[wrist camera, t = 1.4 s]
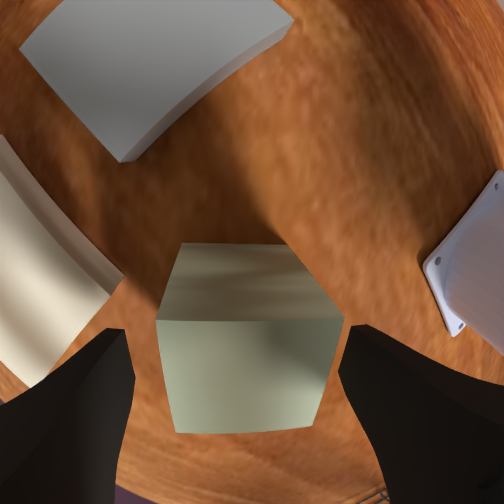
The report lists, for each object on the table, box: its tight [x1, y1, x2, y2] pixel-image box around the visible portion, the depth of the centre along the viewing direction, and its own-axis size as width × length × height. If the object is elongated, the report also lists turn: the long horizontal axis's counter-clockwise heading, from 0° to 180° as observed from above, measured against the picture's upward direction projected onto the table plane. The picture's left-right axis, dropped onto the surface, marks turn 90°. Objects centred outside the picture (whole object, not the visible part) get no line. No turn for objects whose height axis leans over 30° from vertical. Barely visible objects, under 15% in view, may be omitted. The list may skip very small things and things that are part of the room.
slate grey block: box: [19, 0, 294, 162], centre depth 7 cm, size 8×8×2 cm
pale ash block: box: [0, 135, 125, 388], centre depth 10 cm, size 10×10×2 cm
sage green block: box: [156, 243, 345, 434], centre depth 10 cm, size 4×4×6 cm
